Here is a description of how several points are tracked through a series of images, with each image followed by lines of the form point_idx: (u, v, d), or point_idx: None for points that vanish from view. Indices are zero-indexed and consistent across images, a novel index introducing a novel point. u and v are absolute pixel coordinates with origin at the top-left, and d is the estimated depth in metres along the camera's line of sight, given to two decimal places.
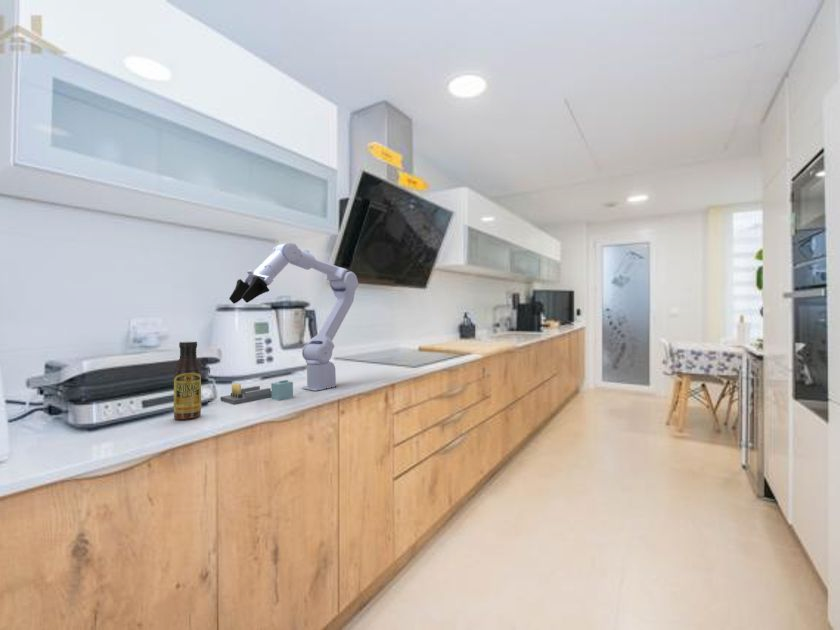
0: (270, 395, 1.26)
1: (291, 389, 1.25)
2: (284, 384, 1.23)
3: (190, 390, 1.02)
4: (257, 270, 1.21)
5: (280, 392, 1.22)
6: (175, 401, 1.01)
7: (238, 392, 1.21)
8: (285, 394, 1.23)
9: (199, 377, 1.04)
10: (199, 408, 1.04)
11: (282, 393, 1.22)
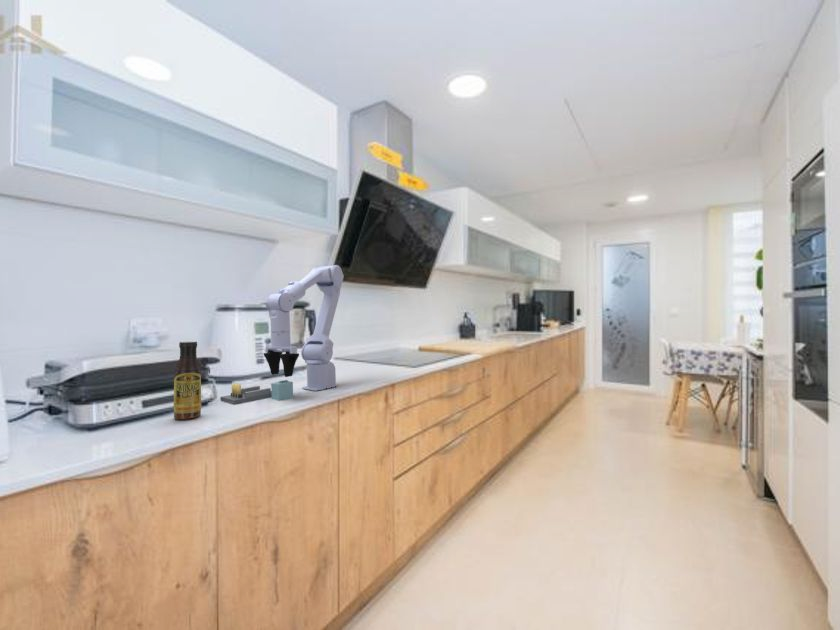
0: (270, 395, 1.26)
1: (291, 389, 1.25)
2: (284, 384, 1.23)
3: (190, 390, 1.02)
4: (274, 342, 1.22)
5: (280, 392, 1.22)
6: (175, 401, 1.01)
7: (238, 392, 1.21)
8: (285, 394, 1.23)
9: (199, 377, 1.04)
10: (199, 408, 1.04)
11: (281, 393, 1.22)
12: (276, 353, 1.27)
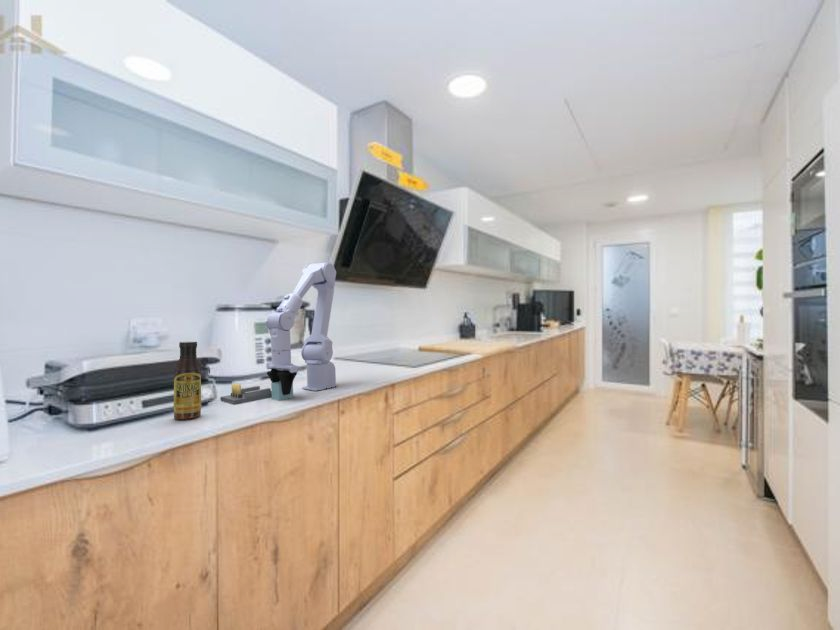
0: (270, 395, 1.26)
1: (291, 389, 1.25)
2: None
3: (190, 390, 1.02)
4: (275, 361, 1.22)
5: (280, 391, 1.22)
6: (175, 401, 1.01)
7: (238, 392, 1.21)
8: None
9: (199, 377, 1.04)
10: (199, 408, 1.04)
11: None
12: (279, 371, 1.26)
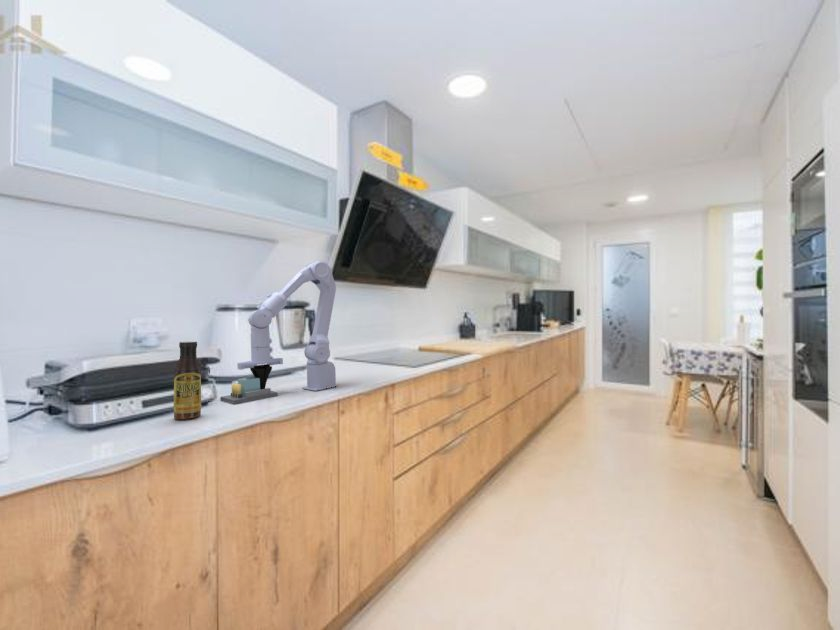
0: (270, 395, 1.26)
1: (258, 385, 1.26)
2: (250, 380, 1.24)
3: (190, 390, 1.02)
4: None
5: (246, 388, 1.23)
6: (175, 401, 1.01)
7: (238, 392, 1.21)
8: (251, 390, 1.24)
9: (199, 377, 1.04)
10: (199, 408, 1.04)
11: (248, 389, 1.23)
12: None
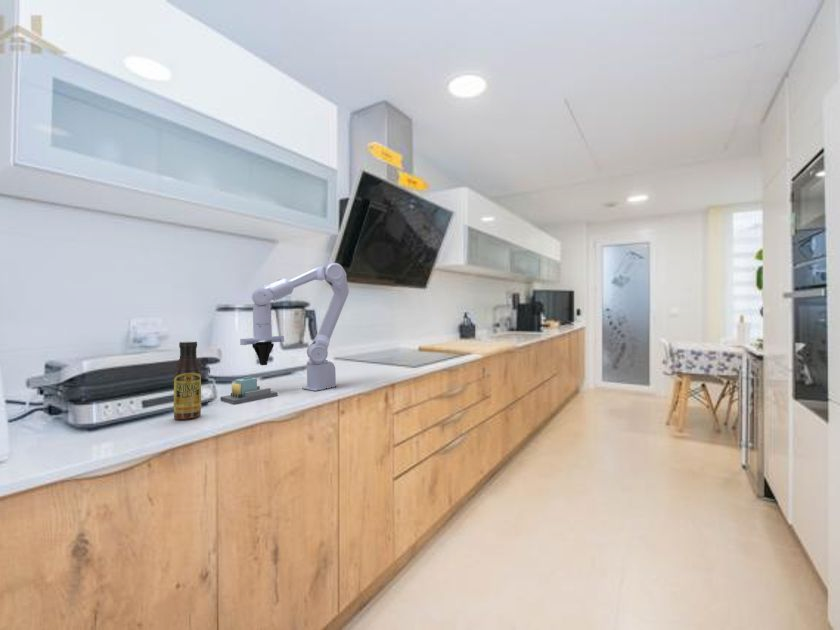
0: (270, 395, 1.26)
1: (255, 386, 1.25)
2: (247, 380, 1.23)
3: (190, 390, 1.02)
4: None
5: (243, 388, 1.22)
6: (175, 401, 1.01)
7: (238, 392, 1.21)
8: (248, 390, 1.23)
9: (199, 377, 1.04)
10: (199, 408, 1.04)
11: (245, 389, 1.22)
12: (264, 345, 1.33)
